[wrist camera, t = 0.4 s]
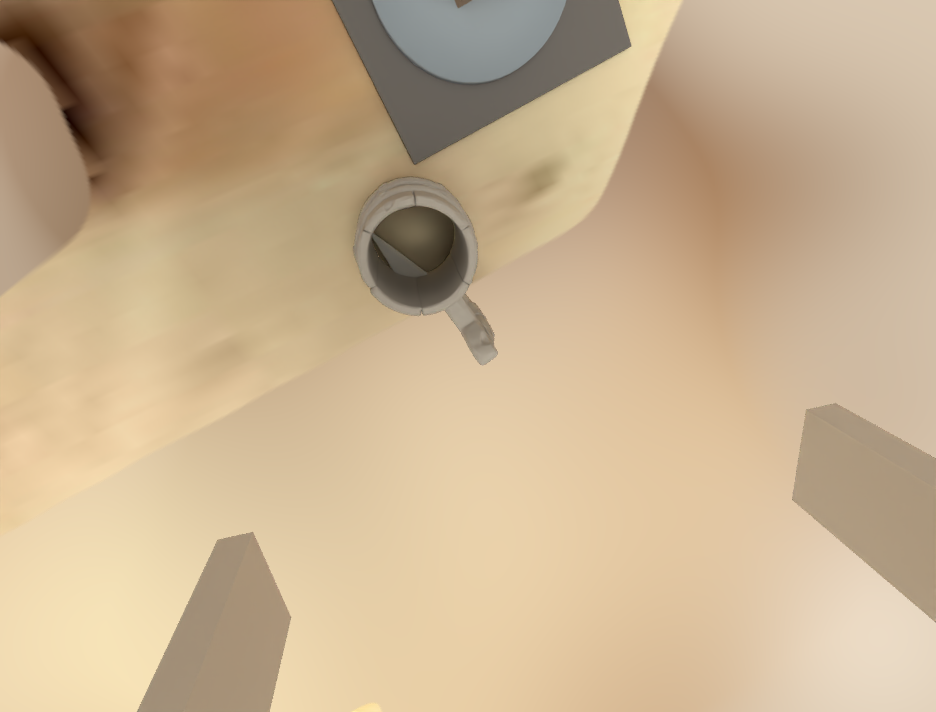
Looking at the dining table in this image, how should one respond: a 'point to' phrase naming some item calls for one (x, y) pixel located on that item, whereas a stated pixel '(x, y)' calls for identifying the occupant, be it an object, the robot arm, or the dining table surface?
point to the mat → (474, 106)
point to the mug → (407, 281)
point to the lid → (469, 34)
